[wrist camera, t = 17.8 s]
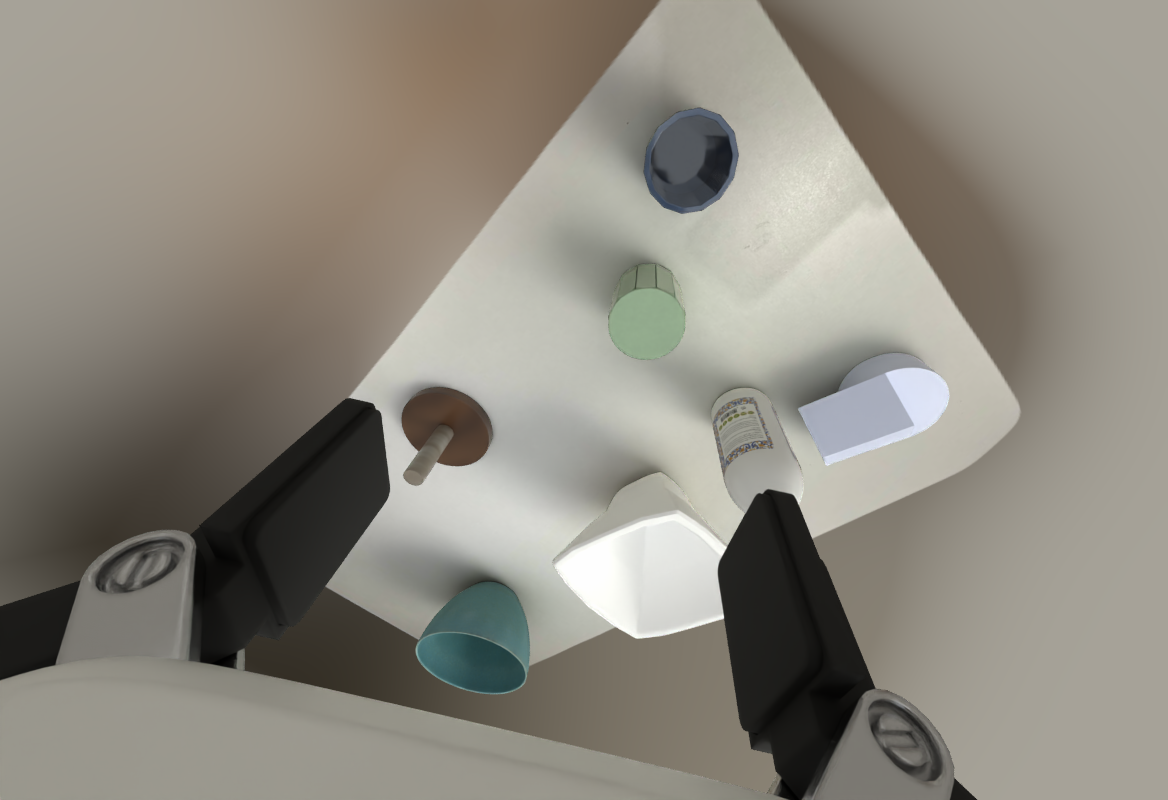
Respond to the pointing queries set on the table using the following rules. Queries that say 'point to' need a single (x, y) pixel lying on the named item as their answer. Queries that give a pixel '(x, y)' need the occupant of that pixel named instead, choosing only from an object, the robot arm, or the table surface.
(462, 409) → the disc
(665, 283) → the green cup
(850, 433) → the wedge on round base
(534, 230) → the table surface
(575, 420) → the table surface
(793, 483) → the bath foam
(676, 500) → the bowl
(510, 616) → the plant pot
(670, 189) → the blue cup
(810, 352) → the table surface
